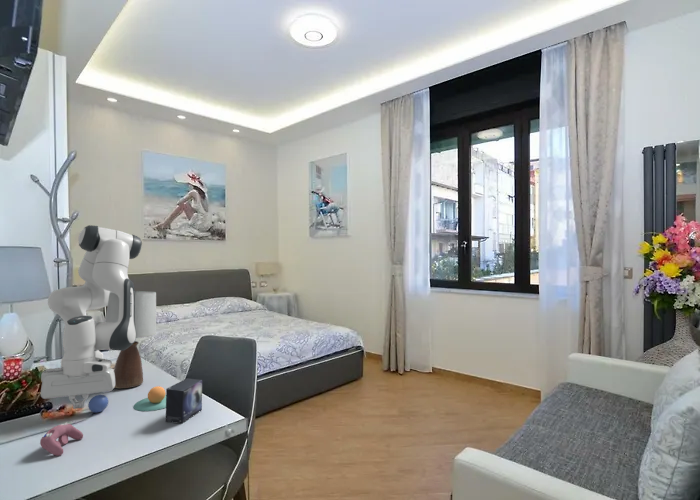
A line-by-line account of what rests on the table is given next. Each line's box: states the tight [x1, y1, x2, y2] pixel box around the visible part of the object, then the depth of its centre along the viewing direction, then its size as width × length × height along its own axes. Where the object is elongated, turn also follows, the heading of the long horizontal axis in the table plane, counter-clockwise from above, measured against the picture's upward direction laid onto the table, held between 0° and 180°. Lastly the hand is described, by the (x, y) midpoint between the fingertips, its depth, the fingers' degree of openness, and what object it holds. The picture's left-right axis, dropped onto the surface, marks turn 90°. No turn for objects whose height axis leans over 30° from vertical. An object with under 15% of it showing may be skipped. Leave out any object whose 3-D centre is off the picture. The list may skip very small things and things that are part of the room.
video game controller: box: [39, 422, 84, 457], centre depth 101 cm, size 10×5×7 cm, turn 5°
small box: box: [165, 378, 203, 424], centre depth 120 cm, size 11×6×10 cm, turn 168°
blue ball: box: [87, 394, 109, 414], centre depth 124 cm, size 6×6×6 cm
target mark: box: [133, 394, 166, 412], centre depth 131 cm, size 14×14×1 cm
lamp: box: [105, 290, 157, 389], centre depth 150 cm, size 19×19×37 cm
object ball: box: [147, 385, 166, 403], centre depth 131 cm, size 6×6×6 cm
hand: (79, 407), depth 123 cm, fingers closed
